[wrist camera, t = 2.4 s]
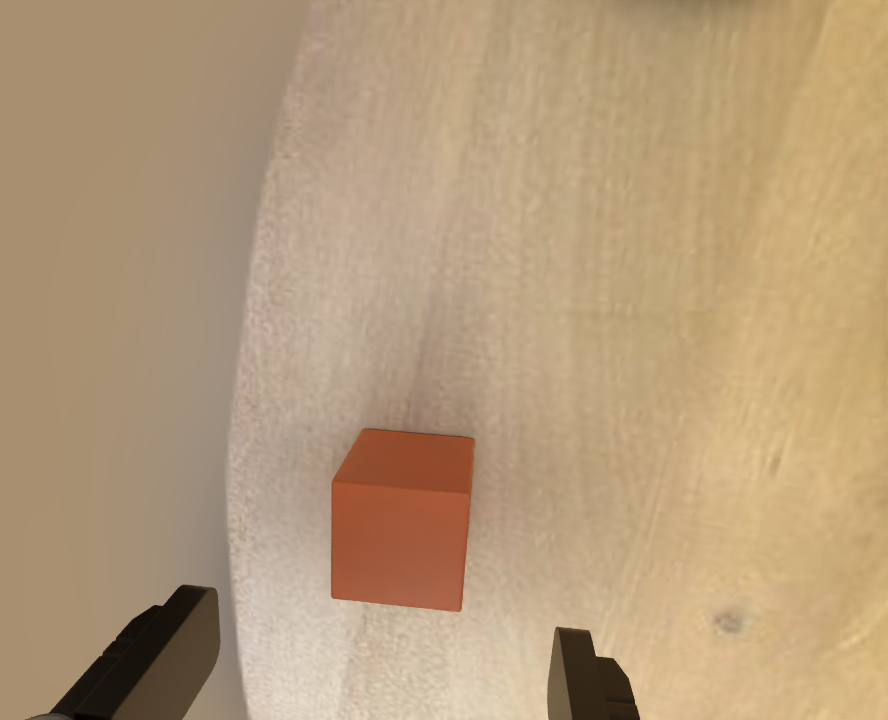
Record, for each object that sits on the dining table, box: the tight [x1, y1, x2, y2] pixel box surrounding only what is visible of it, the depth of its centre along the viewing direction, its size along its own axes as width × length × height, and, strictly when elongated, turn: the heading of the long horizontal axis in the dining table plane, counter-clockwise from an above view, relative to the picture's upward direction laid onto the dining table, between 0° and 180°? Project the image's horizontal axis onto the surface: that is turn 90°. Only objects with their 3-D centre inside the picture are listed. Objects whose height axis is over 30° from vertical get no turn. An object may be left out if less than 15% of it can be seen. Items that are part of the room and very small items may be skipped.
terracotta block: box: [331, 429, 475, 612], centre depth 18 cm, size 4×4×4 cm
